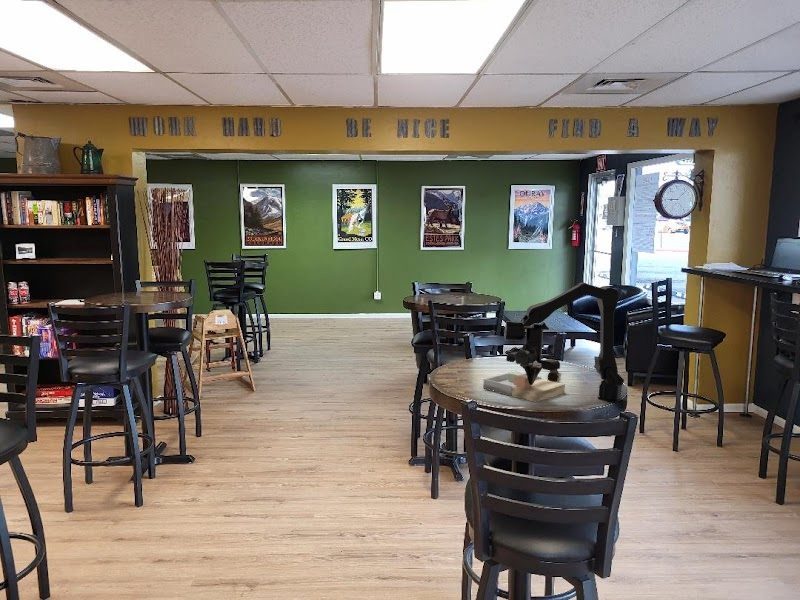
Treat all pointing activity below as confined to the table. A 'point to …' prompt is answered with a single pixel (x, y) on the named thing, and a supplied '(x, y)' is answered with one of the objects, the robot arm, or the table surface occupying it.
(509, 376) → the sage block
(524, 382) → the terracotta block
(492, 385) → the tray
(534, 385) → the birch board
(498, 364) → the table surface
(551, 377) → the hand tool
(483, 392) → the table surface
